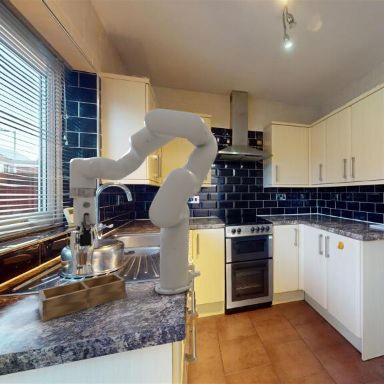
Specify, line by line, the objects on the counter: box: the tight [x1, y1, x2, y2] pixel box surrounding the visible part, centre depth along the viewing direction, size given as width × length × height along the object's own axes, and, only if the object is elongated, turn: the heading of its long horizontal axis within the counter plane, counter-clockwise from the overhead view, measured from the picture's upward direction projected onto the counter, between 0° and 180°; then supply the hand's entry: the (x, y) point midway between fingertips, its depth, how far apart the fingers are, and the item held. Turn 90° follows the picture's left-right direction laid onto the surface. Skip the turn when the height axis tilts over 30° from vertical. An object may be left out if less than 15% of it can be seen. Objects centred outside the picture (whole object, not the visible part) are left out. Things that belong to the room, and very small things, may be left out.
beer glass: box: [69, 228, 96, 277], centre depth 80 cm, size 7×7×15 cm
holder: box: [38, 272, 126, 323], centre depth 70 cm, size 20×10×5 cm, turn 137°
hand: (82, 243), depth 80 cm, fingers closed on beer glass, 7 cm apart
